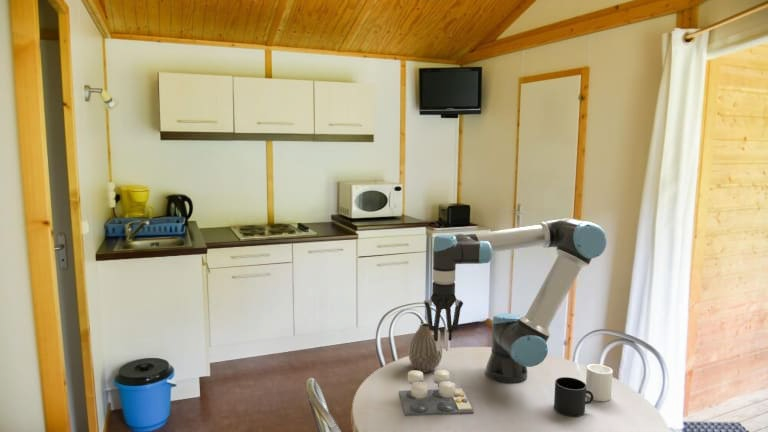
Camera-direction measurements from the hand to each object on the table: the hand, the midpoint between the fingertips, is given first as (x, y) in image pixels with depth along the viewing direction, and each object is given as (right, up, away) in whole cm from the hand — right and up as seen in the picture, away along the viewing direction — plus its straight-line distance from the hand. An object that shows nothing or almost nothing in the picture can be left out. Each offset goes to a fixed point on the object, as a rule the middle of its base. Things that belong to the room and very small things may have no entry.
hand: (442, 349), depth 171 cm
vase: (-4, -14, +24) cm, 28 cm away
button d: (-8, -14, -8) cm, 18 cm away
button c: (-9, -13, +1) cm, 16 cm away
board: (-3, -17, -3) cm, 17 cm away
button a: (0, -13, +1) cm, 13 cm away
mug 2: (+54, -17, +5) cm, 57 cm away
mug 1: (+42, -18, -7) cm, 46 cm away
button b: (+1, -14, -7) cm, 16 cm away
